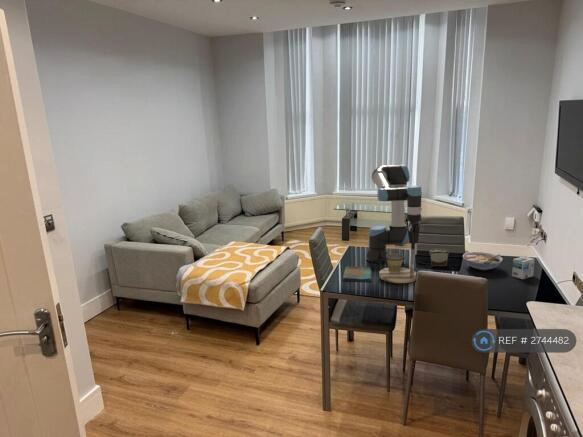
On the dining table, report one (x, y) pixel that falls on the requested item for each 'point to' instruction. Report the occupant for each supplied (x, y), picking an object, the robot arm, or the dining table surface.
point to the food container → (439, 257)
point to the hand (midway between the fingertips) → (413, 253)
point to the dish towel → (357, 274)
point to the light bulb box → (523, 267)
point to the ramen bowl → (482, 260)
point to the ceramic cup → (394, 262)
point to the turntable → (403, 276)
